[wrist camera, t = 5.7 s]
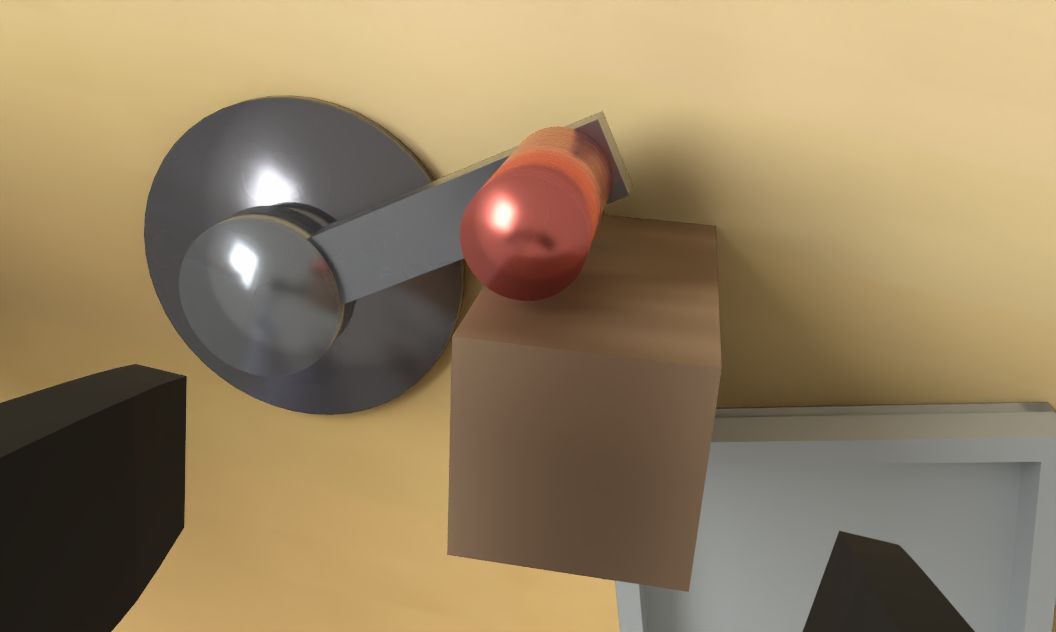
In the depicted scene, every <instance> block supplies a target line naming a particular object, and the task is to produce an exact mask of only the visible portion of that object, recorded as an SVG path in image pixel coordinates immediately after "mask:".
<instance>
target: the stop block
mask: <svg viewBox="0 0 1056 632" xmlns="http://www.w3.org/2000/svg"><path fill="white" fill-rule="evenodd" d="M721 371H722V362H721V339H720V316H719V293H718V269H717V246H716V226H710V225H700V224H690V223H680V222H670V221H660V220H650V219H639V218H629V217H619V216H609V215H602V217H601V220H600V222H599V225H598V228H597V230H596V233H595V236H594V239H593V241H592V244H591V247H590V250H589V252H588V255H587V258H586V260H585V263H584V266H583V268H582V270H581V272H580V273H579V275H578V276H577V277H576V279H575V280H574V281H573V282H572V283H571V284H570V285H569V286H568V287H567V288H565V289H564V290H563V291H561V292H559V293H558V294H556V295H554V296H551V297H549V298H545V299H542V300H535V301H520V300H514V299H510V298H507V297H504V296H501V295H499V294H497V293H495V292H493V291H492V290H490V289H489V288H487V287H486V286H485V285H484V286H483V288H482V290H481V291H480V293H479V294H478V296H477V298H476V299H475V301H474V302H473V304H472V306H471V307H470V309H469V310H468V312H467V313H466V315H465V317H464V318H463V320H462V321H461V323H460V325H459V326H458V328H457V329H456V331H455V333H454V334H453V336H452V366H451V413H450V459H449V505H448V551H447V555H453V556H459V557H466V558H472V559H479V560H485V561H492V562H498V563H504V564H511V565H517V566H524V567H530V568H537V569H543V570H550V571H556V572H563V573H569V574H576V575H582V576H589V577H595V578H602V579H608V580H615V581H621V582H627V583H634V584H640V585H647V586H653V587H660V588H666V589H673V590H679V591H686V592H689V587H690V580H691V574H692V567H693V560H694V553H695V547H696V540H697V533H698V526H699V519H700V513H701V506H702V499H703V492H704V486H705V479H706V472H707V465H708V459H709V452H710V445H711V438H712V432H713V425H714V418H715V411H716V404H717V398H718V391H719V384H720V377H721Z"/></svg>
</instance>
